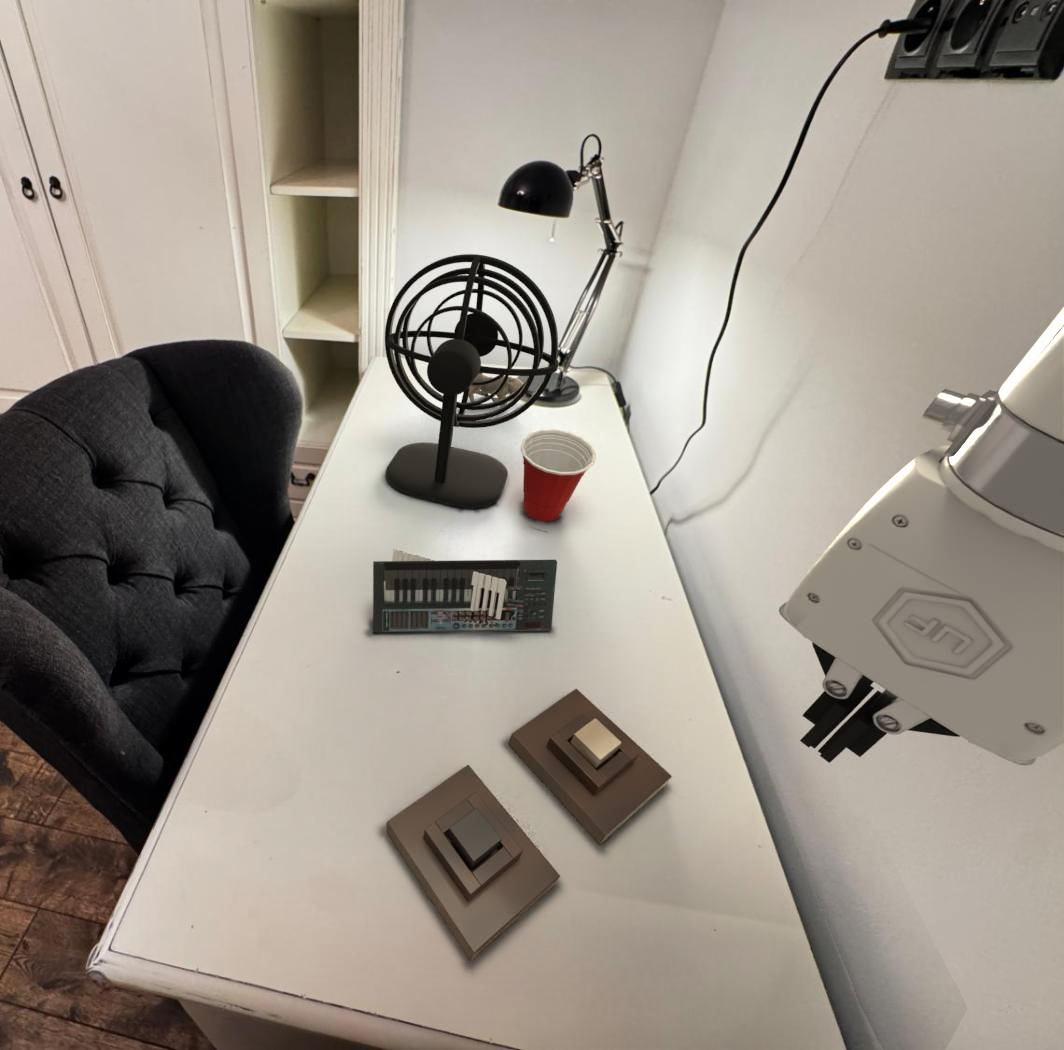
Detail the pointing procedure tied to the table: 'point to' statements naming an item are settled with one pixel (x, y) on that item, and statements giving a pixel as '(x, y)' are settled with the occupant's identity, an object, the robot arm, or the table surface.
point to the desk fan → (464, 380)
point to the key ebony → (474, 837)
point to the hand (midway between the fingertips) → (826, 738)
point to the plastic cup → (552, 470)
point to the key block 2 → (588, 766)
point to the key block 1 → (454, 888)
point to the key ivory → (595, 742)
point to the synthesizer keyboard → (462, 594)
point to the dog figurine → (494, 387)
